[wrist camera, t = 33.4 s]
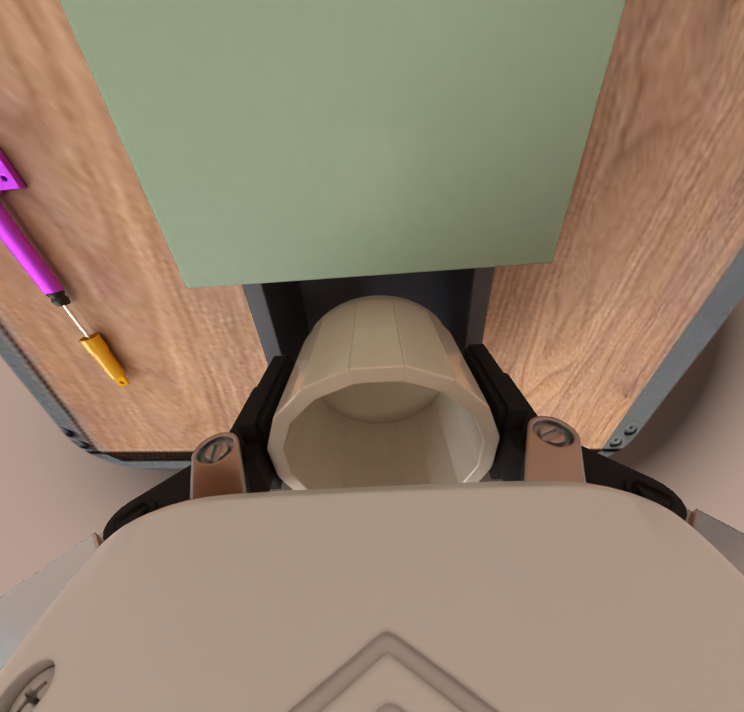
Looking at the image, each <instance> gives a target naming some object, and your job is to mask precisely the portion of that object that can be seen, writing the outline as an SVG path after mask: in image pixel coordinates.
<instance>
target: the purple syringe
mask: <svg viewBox="0 0 744 712" xmlns="http://www.w3.org/2000/svg"><path fill="white" fill-rule="evenodd" d="M24 188H26V186H25V185H24V183H23V182H22V180H21V179H20V177H19V176H18V174H17V173H16V171H15V170H14V168H13V167H12V165H11V164H10V162H9V161H8V159H7V158H6V156H5V155H4V153H3V152H2V150H1V149H0V195H1V194H4V190H14V189H24ZM0 239H1V240H2V242H3V243H4V244H5V245H6V247H7V248H8V249H9V251H10V252H11V253H12V254H13V256H14V257H15V258H16V259H17V261H18V262H19V263H20V264H21V266H22V267H23V268H24V270H25V271H26V272H27V273H28V275H29V276H30V277H31V278H32V280H33V281H34V282H35V284H36V285H37V286H38V287H39V289H40V290H41V291H42V292H43V294H46V296H48V297H49V298H51V302H52V303H53V304H55V305H56V306H63V307H64V308H65V310H66V311H67V312H68V314H69V315H70V316H71V318H72V319H73V320H74V321H75V323H76V324H77V325H78V327H79V328H80V329H81V331H82V332H83V333H84V335H85V337H83V338H81V339H80V340H79V342H80V343H81V344H82V345H83V347H84V348H85V349H86V351H87V352H88V353H89V354H90V355H92V356H93V357H94V358H95V359H96V361H97V362H98V363H99V364H100V366H101V367H102V368H103V370H104V371H105V372H106V373H107V375H108V376H109V377H110V378H111V379H114V380H115V381H116V382H117V383H118V385H119V386H120V387H121V386H125V385H129V384H130V382H129V381H128V379H127V378H126V377H125V371H124V370H123V369H122V367H121V366H120V365H119V363H118V362H117V360H116V359H115V358H114V356H113V355H112V354H111V352H110V351H109V350H108V348H109V347H108V346H107V344H106V343H105V342H104V340H103V339H102V338H101V336H100V335H99V334H92V335H89V334H88V332H87V331H86V330H85V328H84V327H83V326H82V324H81V323H80V322H79V320H78V319H77V318H76V316H75V315H74V314H73V312H72V311H71V310H70V308H69V307H68V306H67V304H70V303H71V302H70V299H69V297H67V296H66V295H65V291H64V290H63V289H64V288H63V287H62V285H61V284H60V283H59V281H58V280H57V279H56V277H55V276H54V275H53V273H52V272H51V270H50V269H49V268H48V266H47V265H46V264H45V262H44V261H43V260H42V258H41V257H40V256H39V254H38V253H37V251H36V250H35V249H34V247H33V246H32V245H31V243H30V242H29V241H28V239H27V238H26V237H25V235H24V234H23V232H22V231H21V230H20V228H19V227H18V226H17V224H16V223H15V222H14V220H13V219H12V218H11V216H10V215H9V213H8V212H7V211H6V209H5V208H4V207H3V205H2V204H1V203H0ZM121 381H124V382H125V383H123V382H121Z"/></svg>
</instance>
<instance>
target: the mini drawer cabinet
mask: <svg viewBox="0 0 744 712" xmlns="http://www.w3.org/2000/svg"><path fill="white" fill-rule="evenodd" d="M59 1H60V3H61V6H62V8H63V10H64V12H65V15H66V17H67V19H68V21H69V24H70V26H71V28H72V30H73V33H74V35H75V37H76V39H77V42H78V44H79V46H80V48H81V51H82V53H83V55H84V58H85V60H86V62H87V64H88V67H89V69H90V71H91V73H92V76H93V78H94V80H95V82H96V85H97V87H98V89H99V91H100V94H101V96H102V98H103V100H104V103H105V105H106V107H107V110H108V112H109V114H110V116H111V119H112V121H113V123H114V125H115V128H116V130H117V132H118V134H119V137H120V139H121V141H122V143H123V146H124V148H125V150H126V152H127V155H128V157H129V159H130V161H131V164H132V166H133V168H134V171H135V173H136V175H137V177H138V180H139V182H140V184H141V186H142V189H143V191H144V193H145V195H146V198H147V200H148V202H149V204H150V207H151V209H152V211H153V213H154V216H155V218H156V220H157V223H158V225H159V227H160V229H161V232H162V234H163V236H164V238H165V241H166V243H167V245H168V247H169V250H170V252H171V254H172V256H173V259H174V261H175V263H176V265H177V268H178V270H179V272H180V275H181V277H182V279H183V281H184V284H185V286H186V288H201V287H216V286H230V285H244V284H258V283H273V282H287V281H301V280H315V279H330V278H344V277H358V276H372V275H387V274H401V273H415V272H429V271H444V270H458V269H472V268H486V267H501V266H515V265H529V264H543V263H552V261H553V258H554V254H555V251H556V247H557V243H558V240H559V236H560V233H561V229H562V226H563V222H564V219H565V215H566V211H567V208H568V204H569V201H570V197H571V194H572V190H573V187H574V183H575V179H576V176H577V172H578V169H579V165H580V162H581V158H582V155H583V151H584V148H585V144H586V140H587V137H588V133H589V130H590V126H591V123H592V119H593V116H594V112H595V108H596V105H597V101H598V98H599V94H600V91H601V87H602V84H603V80H604V76H605V73H606V69H607V66H608V62H609V59H610V55H611V52H612V48H613V45H614V41H615V37H616V34H617V30H618V27H619V23H620V20H621V16H622V13H623V9H624V5H625V2H626V0H59Z"/></svg>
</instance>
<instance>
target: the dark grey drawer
mask: <svg viewBox="0 0 744 712" xmlns="http://www.w3.org/2000/svg"><path fill="white" fill-rule="evenodd" d="M494 270H495V267H486V268H472V269H458V270H444V271H429V272H415V273H401V274H387V275H372V276H358V277H344V278H330V279H315V280H301V281H287V282H273V283H258V284H244V285H242V286H243V289H244V292H245V295H246V298H247V301H248V305H249V308H250V311H251V314H252V317H253V320H254V323H255V326H256V329H257V332H258V335H259V338H260V341H261V344H262V347H263V350H264V353H265V356H266V359H267V362H268V365H269V364H270V362H271V360H272V359H273V357H274V356H283V355H288V356H289V358H293V359H294V362H295V363H296V360H297V358H298V355H299V353H300V351H301V348H302V346H303V343H304V341H305V339H306V338H307V337H308V335H309V333H310V331H311V330H312V328H313V327H314V326H315V324H316V323H317V322H318V321H319V320H320V319H321V318H322V317H323V316H324V315H325V314H326V313H328V312H329V311H330V310H332V309H333V308H335V307H337V306H339V305H340V304H342V303H345V302H347V301H350V300H353V299H357V298H361V297H366V296H374V295H386V296H394V297H400V298H404V299H407V300H410V301H413V302H415V303H418V304H420V305H421V306H423V307H425V308H427V309H428V310H429V311H431V312H432V313H433V314H434V315H436V316H437V317H438V318H439V319H440V321H441V322H442V323H443V324H444V326H445V327H446V328H447V330H449V332H450V333H451V335H452V337H453V339H454V341H455V342H456V344H457V346H458V348H459V350H460V352H461V354H463V349H464V348H467V347H468V345H469V344H482V339H483V333H484V327H485V322H486V316H487V310H488V304H489V298H490V293H491V287H492V281H493V275H494Z"/></svg>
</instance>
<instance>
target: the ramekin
mask: <svg viewBox="0 0 744 712" xmlns="http://www.w3.org/2000/svg"><path fill="white" fill-rule="evenodd" d="M499 437H500V435H499V433H498V430H497V427H496V424H495V421H494V418H493V416H492V413H491V410H490V407H489V405H488V403H487V401H486V399H485V397H484V396H483V394H482V392H481V390H480V388H479V386H478V384H477V382H476V380H475V378H474V377H473V375H472V373H471V371H470V369H469V367H468V365H467V363H466V361H465V360H464V358H463V356H462V354H461V352H460V350H459V348H458V346H457V344H456V342H455V341H454V339H453V337H452V335H451V333H450V332H449V330H447V328H446V327H445V326H444V324H443V323H442V322H441V321H440V319H439V318H438V317H437V316H436V315H434V314H433V313H432V312H431V311H429V310H428V309H427V308H425V307H423V306H421V305H420V304H418V303H415V302H413V301H410V300H407V299H404V298H400V297H394V296H386V295H374V296H366V297H361V298H357V299H353V300H350V301H347V302H345V303H342V304H340V305H339V306H337V307H335V308H333V309H332V310H330V311H329V312H328V313H326V314H325V315H324V316H323V317H322V318H321V319H320V320H319V321H318V322H317V323H316V324H315V326H314V327H313V328H312V330H311V331H310V333H309V335H308V337H307V338H306V339H305V341H304V343H303V346H302V348H301V351H300V353H299V355H298V358H297V360H296V363H295V365H294V368H293V370H292V373H291V375H290V377H289V380H288V382H287V385H286V387H285V390H284V392H283V395H282V397H281V399H280V402H279V404H278V407H277V409H276V412H275V414H274V417H273V420H272V425H271V430H270V435H269V440H268V445H267V451H268V453H269V455H270V458H271V460H272V463H273V465H274V468H275V470H276V472H277V475H278V476H279V478H280V479H282V480H283V481H284V482H285V483H286V484H287V485H288V486H289V487H291V488H292V489H293V490H311V489H331V488H352V487H374V486H397V485H420V484H445V483H470V482H479V480H480V479H481V478H482V477H483V476H484V475H485V474H486V473H487V472H488V471H489V470H490V469H491V467H492V465H493V461H494V458H495V454H496V450H497V447H498V443H499V439H500V438H499Z"/></svg>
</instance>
